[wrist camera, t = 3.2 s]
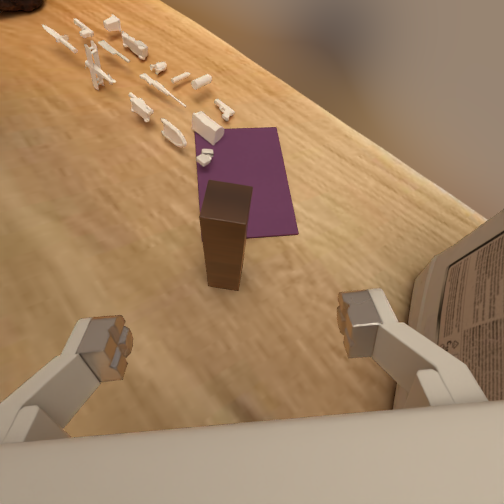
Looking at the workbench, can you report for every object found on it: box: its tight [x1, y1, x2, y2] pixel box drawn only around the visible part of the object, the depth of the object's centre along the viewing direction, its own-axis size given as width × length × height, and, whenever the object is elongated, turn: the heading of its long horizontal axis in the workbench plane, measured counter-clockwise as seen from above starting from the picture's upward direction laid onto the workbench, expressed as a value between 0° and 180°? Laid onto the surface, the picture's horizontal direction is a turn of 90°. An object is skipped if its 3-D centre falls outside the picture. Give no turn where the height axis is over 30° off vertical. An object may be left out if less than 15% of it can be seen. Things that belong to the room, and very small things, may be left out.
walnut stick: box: [199, 180, 253, 291], centre depth 31 cm, size 4×4×15 cm
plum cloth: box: [195, 127, 299, 242], centre depth 44 cm, size 12×18×1 cm, turn 7°
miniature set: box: [42, 14, 235, 167], centre depth 48 cm, size 6×35×12 cm
